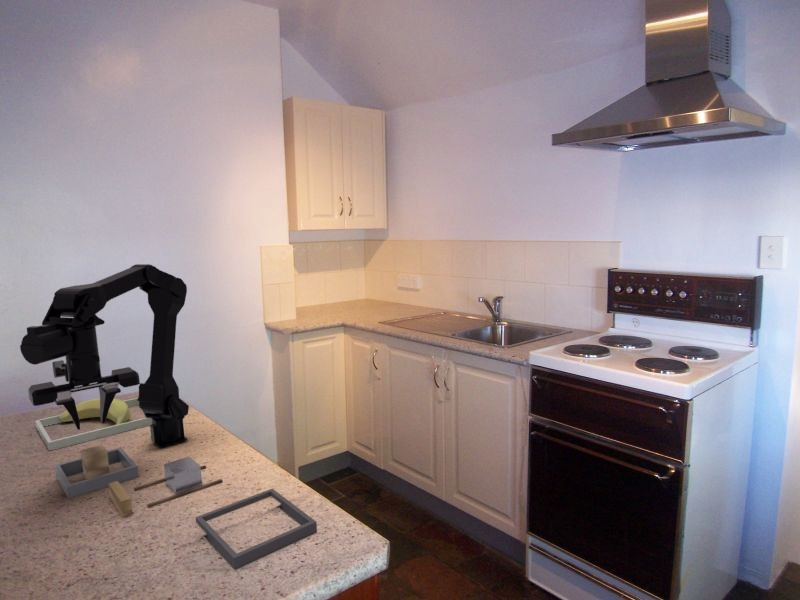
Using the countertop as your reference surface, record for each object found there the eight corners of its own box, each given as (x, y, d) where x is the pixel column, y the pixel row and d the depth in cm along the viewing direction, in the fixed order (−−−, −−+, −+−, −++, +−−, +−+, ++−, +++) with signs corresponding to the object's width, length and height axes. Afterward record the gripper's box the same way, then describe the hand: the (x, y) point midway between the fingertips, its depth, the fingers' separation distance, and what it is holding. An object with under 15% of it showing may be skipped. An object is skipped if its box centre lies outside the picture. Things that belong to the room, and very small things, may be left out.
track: (205, 472, 117) (203, 454, 117) (223, 487, 110) (221, 468, 110) (94, 508, 104) (92, 488, 103) (106, 528, 97) (104, 507, 96)
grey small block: (191, 474, 114) (189, 456, 113) (202, 485, 109) (200, 466, 108) (165, 483, 110) (163, 464, 110) (176, 494, 106) (174, 474, 105)
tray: (122, 462, 123) (120, 447, 123) (139, 482, 114) (137, 466, 113) (56, 481, 115) (54, 465, 115) (69, 504, 106) (66, 487, 105)
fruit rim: (140, 403, 161) (139, 397, 161) (162, 421, 147) (161, 414, 146) (36, 427, 145) (35, 420, 145) (49, 450, 130) (48, 442, 130)
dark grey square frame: (273, 498, 106) (272, 488, 105) (317, 532, 94) (316, 521, 94) (196, 527, 96) (195, 517, 96) (234, 570, 85) (233, 558, 84)
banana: (105, 384, 155) (136, 408, 142) (112, 401, 157) (143, 425, 144) (53, 409, 146) (81, 437, 133) (61, 426, 149) (89, 455, 136)
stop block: (105, 471, 117) (102, 444, 116) (110, 478, 114) (107, 450, 113) (84, 477, 114) (80, 450, 114) (88, 484, 111) (85, 456, 111)
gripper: (121, 336, 122) (129, 405, 124) (19, 352, 110) (30, 427, 113) (136, 345, 114) (144, 418, 116) (28, 363, 102) (39, 444, 104)
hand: (90, 426), depth 112 cm, fingers open, 4 cm apart
